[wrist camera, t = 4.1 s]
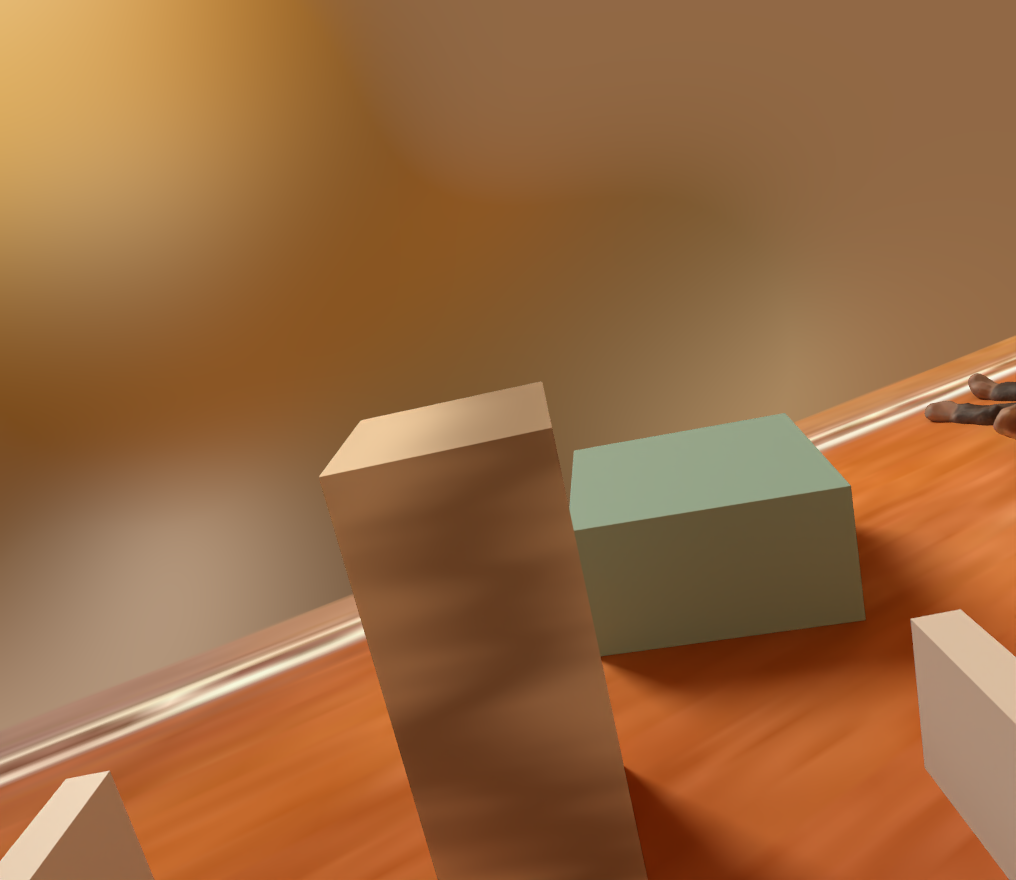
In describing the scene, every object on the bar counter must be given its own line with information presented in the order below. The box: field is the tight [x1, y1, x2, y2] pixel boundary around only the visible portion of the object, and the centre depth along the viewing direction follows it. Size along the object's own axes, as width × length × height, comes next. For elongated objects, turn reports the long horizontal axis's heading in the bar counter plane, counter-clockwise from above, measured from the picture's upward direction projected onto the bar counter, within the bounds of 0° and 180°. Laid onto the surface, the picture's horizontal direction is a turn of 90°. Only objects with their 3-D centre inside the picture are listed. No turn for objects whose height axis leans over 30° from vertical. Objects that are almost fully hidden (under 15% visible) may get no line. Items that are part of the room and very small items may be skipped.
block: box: [319, 382, 648, 880], centre depth 19 cm, size 4×4×11 cm
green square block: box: [569, 413, 866, 656], centre depth 31 cm, size 9×9×5 cm
